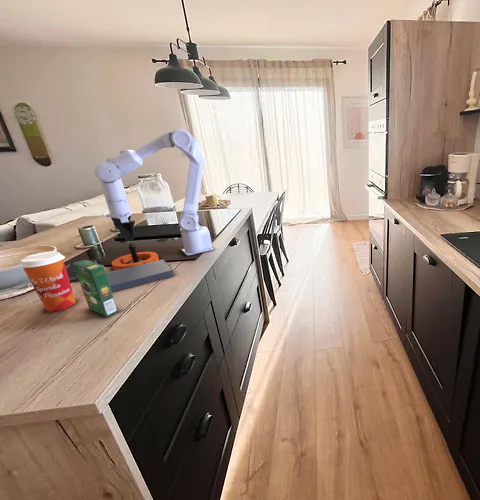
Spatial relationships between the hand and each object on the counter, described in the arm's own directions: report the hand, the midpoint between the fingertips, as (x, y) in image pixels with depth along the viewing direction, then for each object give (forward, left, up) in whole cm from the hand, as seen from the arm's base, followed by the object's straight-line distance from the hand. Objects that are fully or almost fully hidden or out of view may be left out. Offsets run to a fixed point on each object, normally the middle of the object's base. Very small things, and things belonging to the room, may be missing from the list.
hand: (128, 238), depth 101 cm
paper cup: (+19, +25, -8) cm, 32 cm away
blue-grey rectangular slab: (+1, +19, -8) cm, 21 cm away
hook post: (0, +6, -8) cm, 10 cm away
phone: (+16, +1, -8) cm, 18 cm away
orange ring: (0, +6, -8) cm, 10 cm away
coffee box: (+11, +36, -8) cm, 38 cm away
